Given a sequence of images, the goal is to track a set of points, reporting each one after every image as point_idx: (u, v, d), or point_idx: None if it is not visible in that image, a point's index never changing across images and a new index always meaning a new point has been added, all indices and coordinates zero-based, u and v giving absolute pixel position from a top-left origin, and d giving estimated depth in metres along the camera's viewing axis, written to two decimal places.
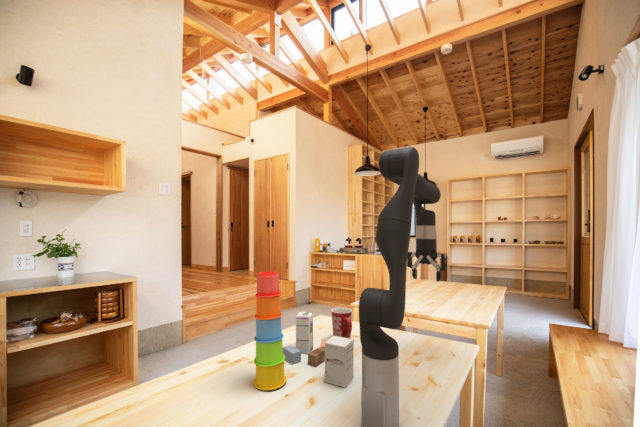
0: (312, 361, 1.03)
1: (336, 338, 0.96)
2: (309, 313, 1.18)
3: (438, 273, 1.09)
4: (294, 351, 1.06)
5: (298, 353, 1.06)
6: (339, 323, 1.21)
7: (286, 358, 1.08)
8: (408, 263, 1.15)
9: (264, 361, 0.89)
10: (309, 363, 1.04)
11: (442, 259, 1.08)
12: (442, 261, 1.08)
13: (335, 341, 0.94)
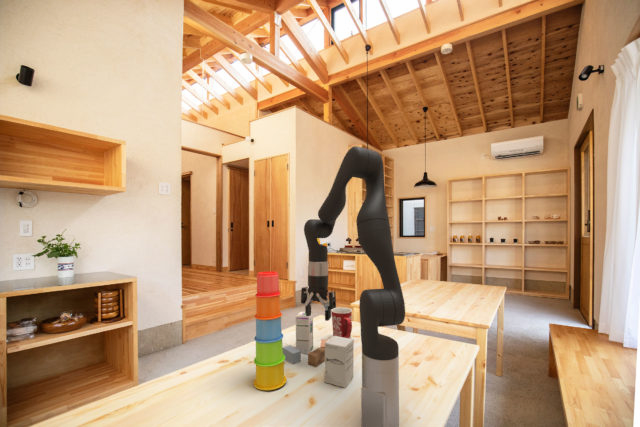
0: (312, 361, 1.03)
1: (336, 338, 0.96)
2: None
3: (326, 312, 1.04)
4: (294, 351, 1.06)
5: (298, 353, 1.06)
6: (339, 323, 1.21)
7: (286, 358, 1.08)
8: (302, 299, 1.10)
9: (264, 361, 0.89)
10: (309, 363, 1.04)
11: (330, 298, 1.03)
12: (329, 300, 1.03)
13: (335, 341, 0.94)
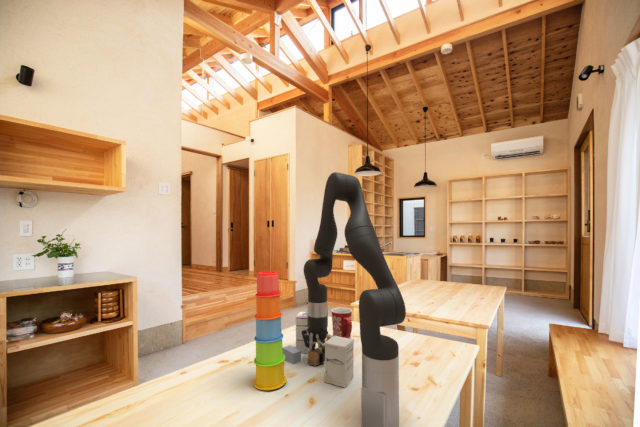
0: (312, 359, 1.03)
1: (336, 338, 0.96)
2: None
3: (321, 355, 1.05)
4: (294, 351, 1.06)
5: (298, 353, 1.06)
6: (339, 323, 1.21)
7: (286, 358, 1.08)
8: (305, 343, 1.08)
9: (264, 361, 0.89)
10: (309, 361, 1.04)
11: None
12: None
13: (335, 341, 0.94)
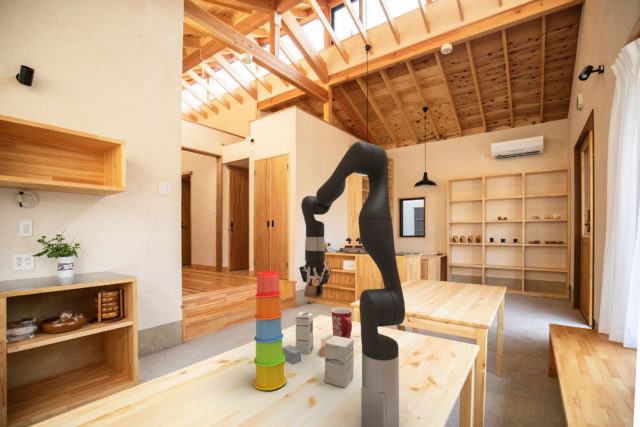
0: (309, 292, 1.07)
1: (336, 338, 0.96)
2: (309, 313, 1.18)
3: (318, 287, 1.08)
4: (294, 351, 1.06)
5: (298, 353, 1.06)
6: (339, 323, 1.21)
7: (286, 358, 1.08)
8: (303, 278, 1.12)
9: (264, 361, 0.89)
10: (305, 294, 1.07)
11: (324, 274, 1.06)
12: (323, 276, 1.06)
13: (335, 341, 0.94)
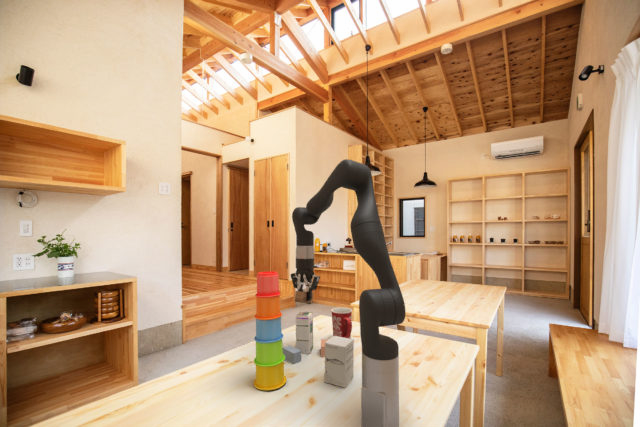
0: (299, 297, 1.14)
1: (336, 338, 0.96)
2: (309, 313, 1.18)
3: (308, 293, 1.15)
4: (294, 351, 1.06)
5: (299, 353, 1.06)
6: (339, 323, 1.21)
7: (286, 358, 1.08)
8: (294, 284, 1.19)
9: (264, 361, 0.89)
10: (296, 299, 1.14)
11: (313, 281, 1.13)
12: (312, 282, 1.14)
13: (335, 341, 0.94)
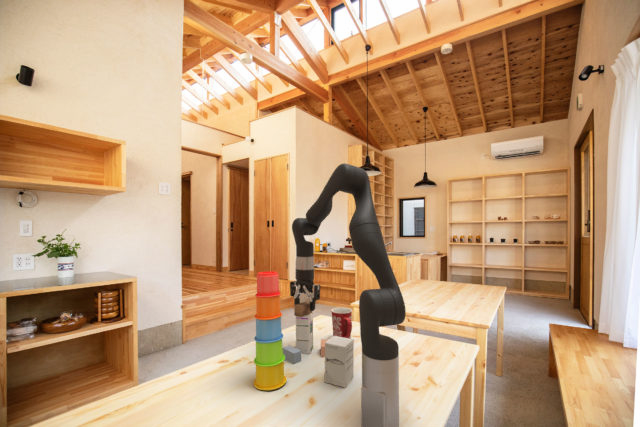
0: (298, 311, 1.13)
1: (336, 338, 0.96)
2: None
3: (311, 303, 1.14)
4: (294, 351, 1.06)
5: (299, 353, 1.06)
6: (339, 323, 1.21)
7: (286, 358, 1.08)
8: (291, 292, 1.20)
9: (264, 361, 0.89)
10: (295, 313, 1.14)
11: (315, 290, 1.13)
12: (314, 292, 1.13)
13: (335, 341, 0.94)
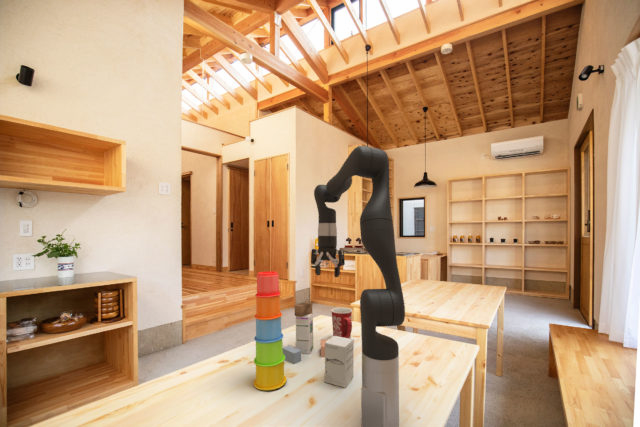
0: (298, 311, 1.13)
1: (336, 338, 0.96)
2: None
3: (336, 269, 1.12)
4: (294, 351, 1.06)
5: (299, 353, 1.07)
6: (339, 323, 1.21)
7: (286, 358, 1.08)
8: (312, 260, 1.18)
9: (264, 361, 0.89)
10: (296, 313, 1.14)
11: (339, 255, 1.11)
12: (339, 257, 1.11)
13: (335, 341, 0.94)
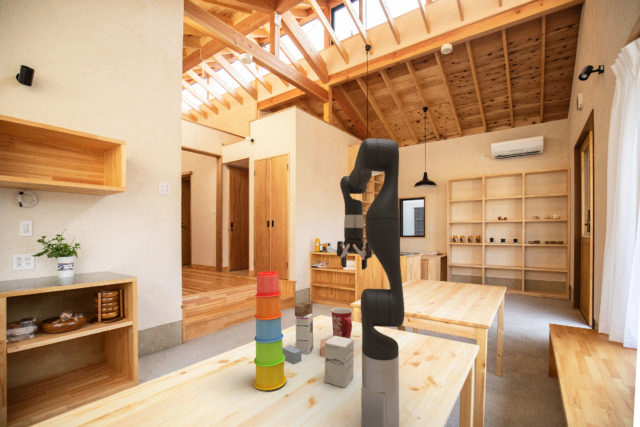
0: (298, 311, 1.13)
1: (336, 338, 0.96)
2: None
3: (363, 261, 1.11)
4: (295, 351, 1.06)
5: (299, 353, 1.07)
6: (339, 323, 1.21)
7: (286, 358, 1.08)
8: (337, 252, 1.17)
9: (264, 361, 0.89)
10: (296, 314, 1.14)
11: (366, 247, 1.10)
12: (366, 249, 1.10)
13: (335, 341, 0.94)
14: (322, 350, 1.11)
